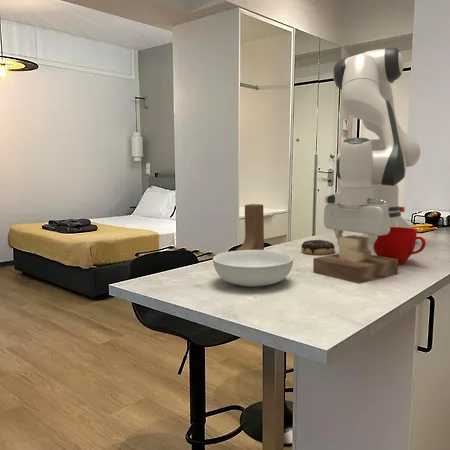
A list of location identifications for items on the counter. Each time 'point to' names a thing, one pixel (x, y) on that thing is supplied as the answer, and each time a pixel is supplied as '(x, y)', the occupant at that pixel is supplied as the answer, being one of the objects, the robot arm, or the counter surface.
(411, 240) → the ceramic cup
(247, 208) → the wooden block
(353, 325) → the counter surface
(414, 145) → the robot arm
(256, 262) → the serving bowl
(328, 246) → the donut
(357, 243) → the beech cube
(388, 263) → the plinth
